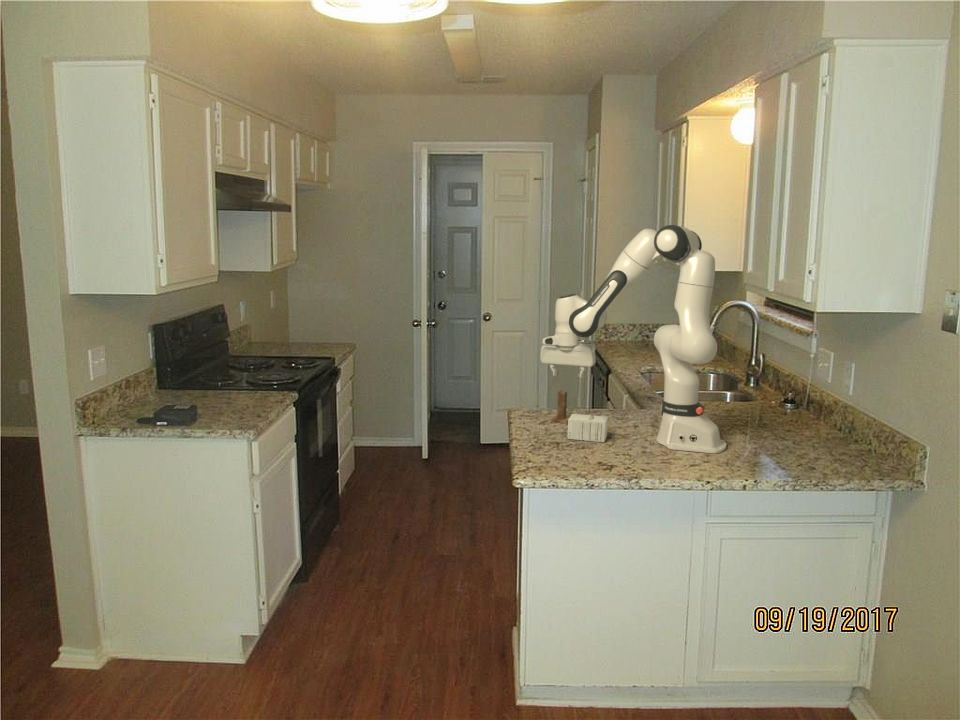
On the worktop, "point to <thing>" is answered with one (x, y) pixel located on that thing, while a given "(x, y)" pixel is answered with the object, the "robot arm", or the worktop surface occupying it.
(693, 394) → the robot arm
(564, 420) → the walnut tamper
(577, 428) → the supplement box
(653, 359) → the worktop surface
